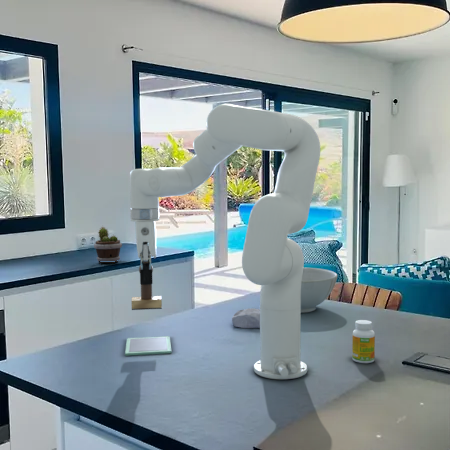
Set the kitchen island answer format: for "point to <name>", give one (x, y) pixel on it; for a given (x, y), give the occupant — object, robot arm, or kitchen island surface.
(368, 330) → the supplement bottle
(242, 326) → the stone block
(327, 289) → the decorative bowl
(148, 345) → the ink pad
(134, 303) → the stamp
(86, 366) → the kitchen island surface
